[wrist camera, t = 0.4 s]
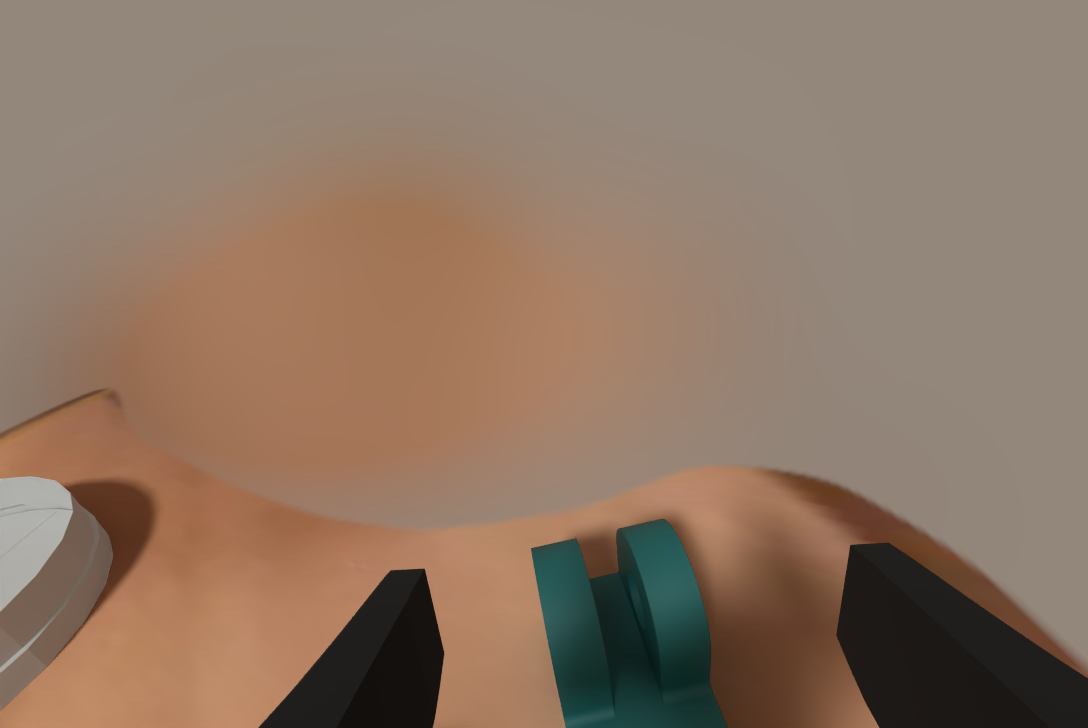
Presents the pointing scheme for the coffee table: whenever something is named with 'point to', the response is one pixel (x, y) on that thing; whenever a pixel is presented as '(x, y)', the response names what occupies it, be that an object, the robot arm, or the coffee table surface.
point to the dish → (44, 576)
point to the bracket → (628, 634)
